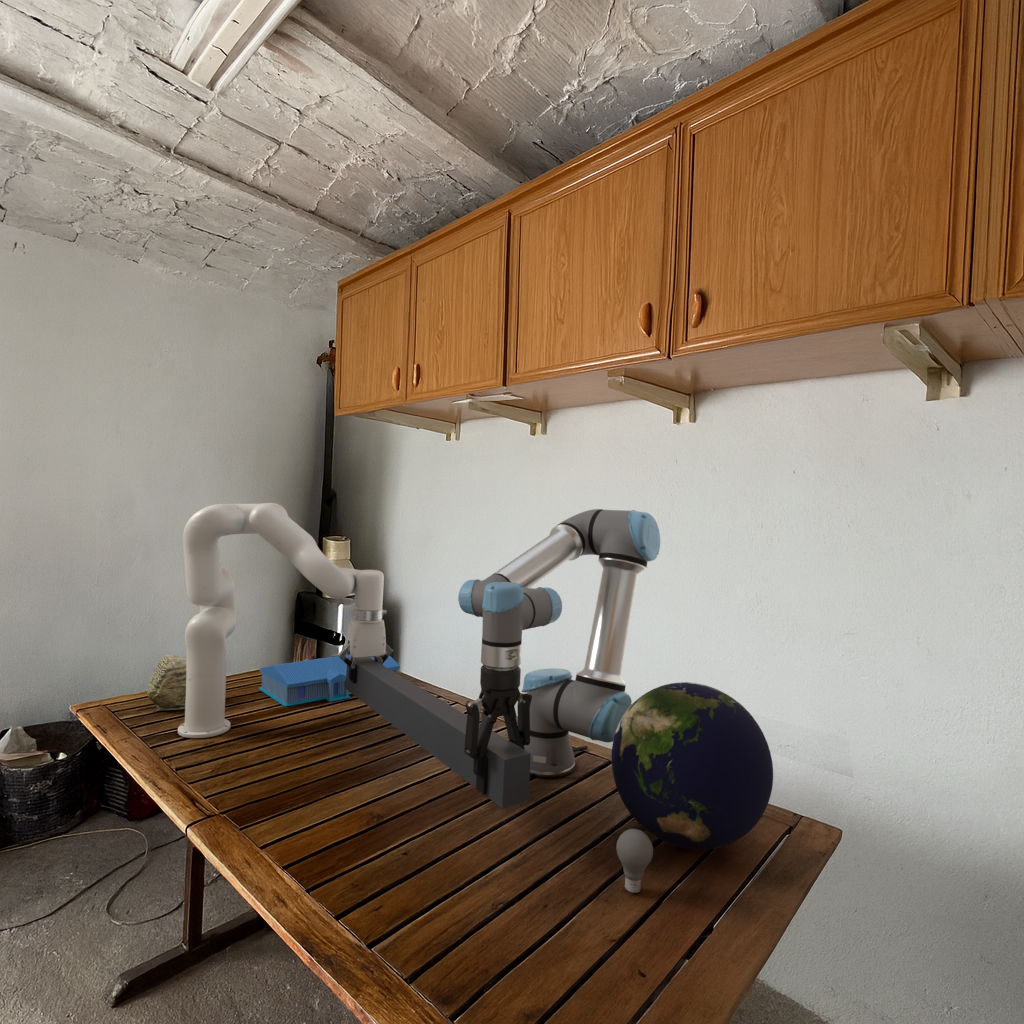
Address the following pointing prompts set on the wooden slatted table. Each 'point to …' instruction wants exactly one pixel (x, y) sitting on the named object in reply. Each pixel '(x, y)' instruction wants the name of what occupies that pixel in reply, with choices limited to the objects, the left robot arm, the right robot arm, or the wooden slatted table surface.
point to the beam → (441, 731)
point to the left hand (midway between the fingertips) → (364, 680)
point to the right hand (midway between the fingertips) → (496, 787)
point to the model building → (310, 680)
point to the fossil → (169, 683)
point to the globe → (692, 766)
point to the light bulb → (634, 857)
